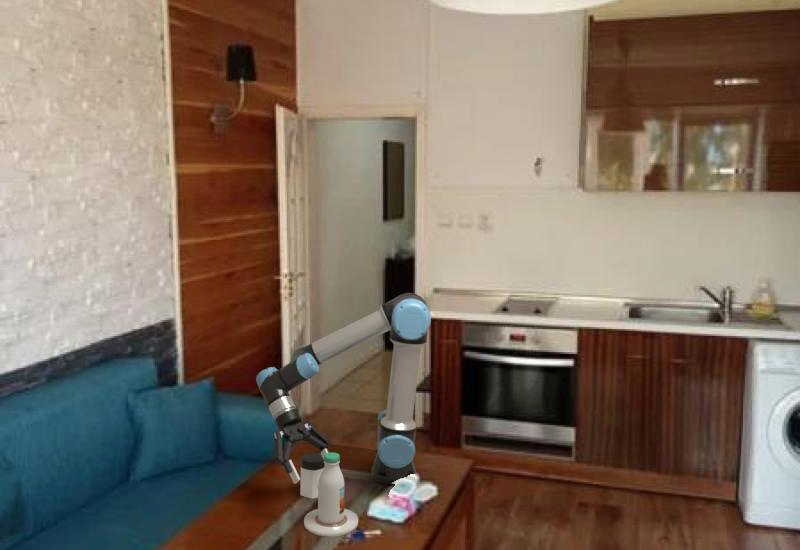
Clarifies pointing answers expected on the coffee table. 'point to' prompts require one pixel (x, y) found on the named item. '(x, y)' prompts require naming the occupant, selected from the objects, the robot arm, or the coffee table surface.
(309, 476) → the jar
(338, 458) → the milk bottle
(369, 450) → the coffee table surface
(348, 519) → the trivet
